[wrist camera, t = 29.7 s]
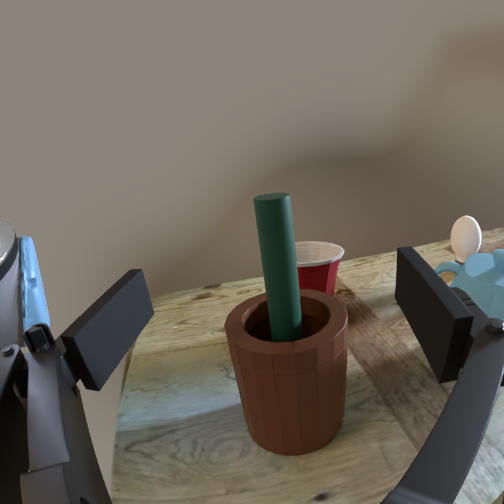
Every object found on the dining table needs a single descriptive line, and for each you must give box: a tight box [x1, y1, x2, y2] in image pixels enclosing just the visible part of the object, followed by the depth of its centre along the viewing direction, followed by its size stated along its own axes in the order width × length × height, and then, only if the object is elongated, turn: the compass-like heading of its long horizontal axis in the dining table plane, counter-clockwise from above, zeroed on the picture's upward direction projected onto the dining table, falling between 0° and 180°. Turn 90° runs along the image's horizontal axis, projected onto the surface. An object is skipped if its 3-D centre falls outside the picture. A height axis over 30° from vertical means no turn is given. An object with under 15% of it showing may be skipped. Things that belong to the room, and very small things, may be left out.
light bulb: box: [451, 216, 481, 265], centre depth 52 cm, size 7×7×11 cm
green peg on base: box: [254, 193, 303, 343], centre depth 26 cm, size 4×4×22 cm
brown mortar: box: [224, 289, 348, 456], centre depth 28 cm, size 10×10×13 cm
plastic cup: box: [295, 242, 344, 296], centre depth 45 cm, size 11×11×12 cm
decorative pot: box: [434, 249, 504, 320], centre depth 30 cm, size 16×16×14 cm
